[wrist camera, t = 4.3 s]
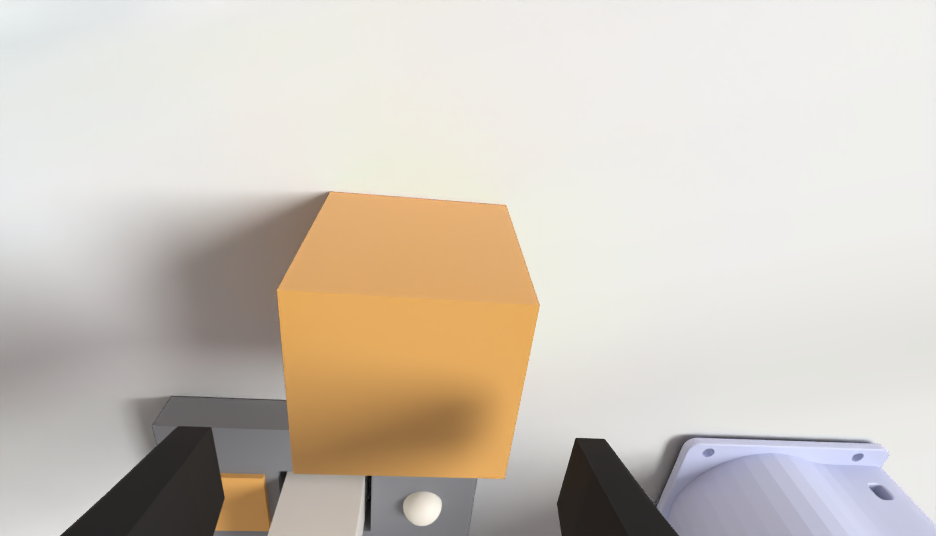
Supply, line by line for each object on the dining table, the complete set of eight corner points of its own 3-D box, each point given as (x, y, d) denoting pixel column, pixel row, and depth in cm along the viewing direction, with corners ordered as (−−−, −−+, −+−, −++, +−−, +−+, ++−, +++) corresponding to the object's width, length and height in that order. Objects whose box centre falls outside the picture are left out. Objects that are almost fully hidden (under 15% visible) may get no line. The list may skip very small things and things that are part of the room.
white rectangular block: (367, 451, 21) (352, 551, 17) (367, 499, 22) (353, 600, 19) (294, 449, 21) (263, 550, 17) (298, 497, 22) (269, 600, 18)
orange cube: (506, 205, 16) (539, 305, 11) (485, 344, 19) (504, 479, 14) (330, 191, 16) (276, 290, 10) (334, 336, 18) (292, 473, 13)
